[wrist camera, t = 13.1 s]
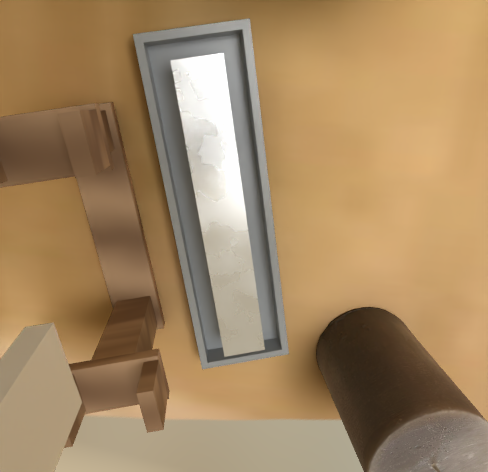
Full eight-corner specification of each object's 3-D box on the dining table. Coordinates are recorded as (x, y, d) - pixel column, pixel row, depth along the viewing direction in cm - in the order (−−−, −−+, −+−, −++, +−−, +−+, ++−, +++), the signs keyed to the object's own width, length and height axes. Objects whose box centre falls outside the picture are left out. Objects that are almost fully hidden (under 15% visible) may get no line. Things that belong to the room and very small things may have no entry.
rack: (44, 112, 31) (-73, 120, 18) (129, 99, 31) (76, 99, 18) (108, 331, 37) (58, 455, 24) (178, 320, 38) (165, 435, 25)
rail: (174, 65, 30) (170, 60, 27) (221, 58, 30) (223, 53, 27) (222, 333, 38) (224, 356, 35) (259, 327, 38) (264, 349, 35)
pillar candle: (319, 308, 39) (384, 429, 25) (414, 305, 40) (529, 420, 26) (312, 388, 42) (365, 537, 28) (400, 384, 43) (495, 525, 29)
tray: (138, 39, 30) (132, 34, 27) (246, 24, 30) (249, 18, 28) (202, 353, 39) (202, 369, 37) (283, 338, 39) (288, 354, 37)
